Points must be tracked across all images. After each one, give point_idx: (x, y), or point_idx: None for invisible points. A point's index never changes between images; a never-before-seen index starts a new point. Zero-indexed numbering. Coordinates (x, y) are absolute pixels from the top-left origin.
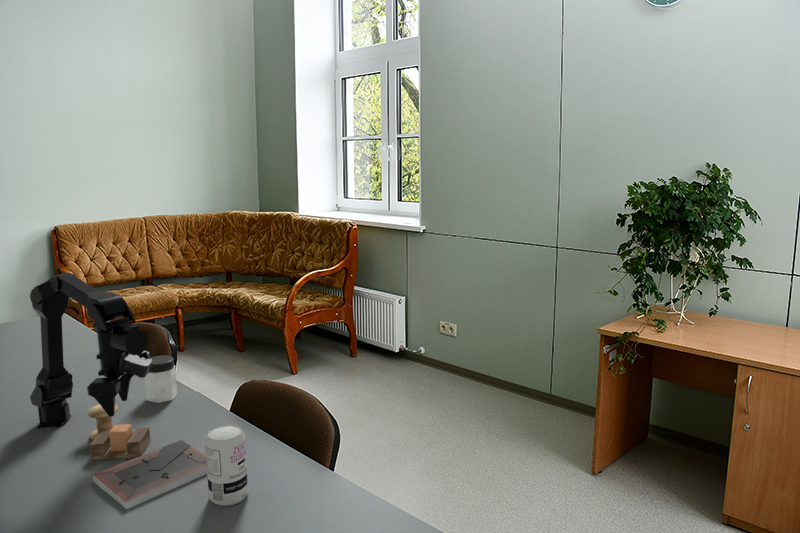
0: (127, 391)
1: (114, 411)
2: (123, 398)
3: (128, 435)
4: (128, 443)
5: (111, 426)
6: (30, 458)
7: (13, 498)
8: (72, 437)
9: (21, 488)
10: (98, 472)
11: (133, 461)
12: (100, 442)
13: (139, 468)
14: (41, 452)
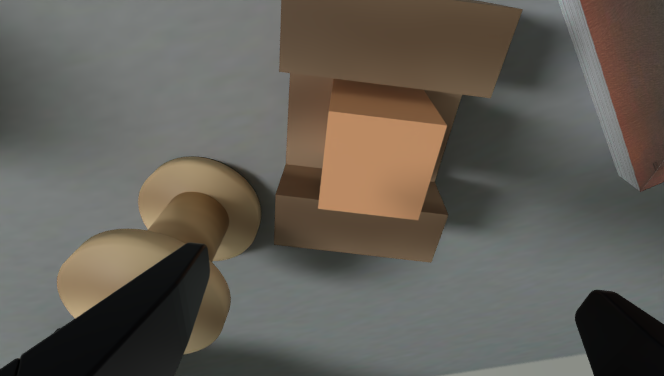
0: (139, 322)
1: (643, 324)
2: (197, 284)
3: (401, 104)
4: (491, 85)
5: (190, 208)
6: (344, 356)
7: (580, 345)
8: None
9: (528, 341)
10: (634, 174)
11: (626, 21)
12: (426, 227)
13: None
14: (311, 343)
